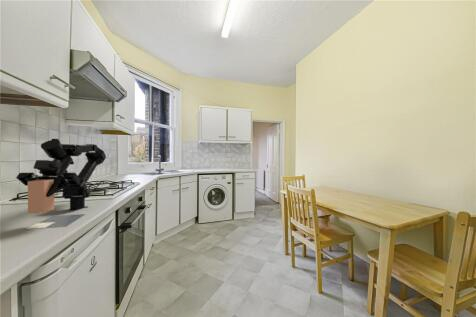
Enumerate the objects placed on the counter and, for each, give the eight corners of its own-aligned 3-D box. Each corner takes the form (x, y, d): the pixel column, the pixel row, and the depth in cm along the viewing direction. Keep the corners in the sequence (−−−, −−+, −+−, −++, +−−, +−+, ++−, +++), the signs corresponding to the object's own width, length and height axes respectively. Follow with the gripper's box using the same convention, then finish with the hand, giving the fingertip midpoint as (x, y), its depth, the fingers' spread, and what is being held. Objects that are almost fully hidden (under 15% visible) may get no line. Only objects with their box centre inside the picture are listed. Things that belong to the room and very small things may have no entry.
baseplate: (52, 217, 80) (52, 215, 80) (85, 215, 84) (85, 213, 84) (24, 231, 66) (24, 229, 66) (66, 228, 70) (66, 226, 70)
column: (39, 209, 72) (38, 179, 72) (54, 208, 73) (54, 179, 73) (28, 213, 67) (27, 181, 67) (44, 212, 68) (44, 181, 68)
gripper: (20, 152, 71) (-10, 185, 61) (76, 153, 76) (57, 184, 65) (37, 170, 79) (13, 201, 69) (86, 170, 83) (71, 199, 73)
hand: (38, 196), depth 69 cm, fingers closed on column, 5 cm apart
